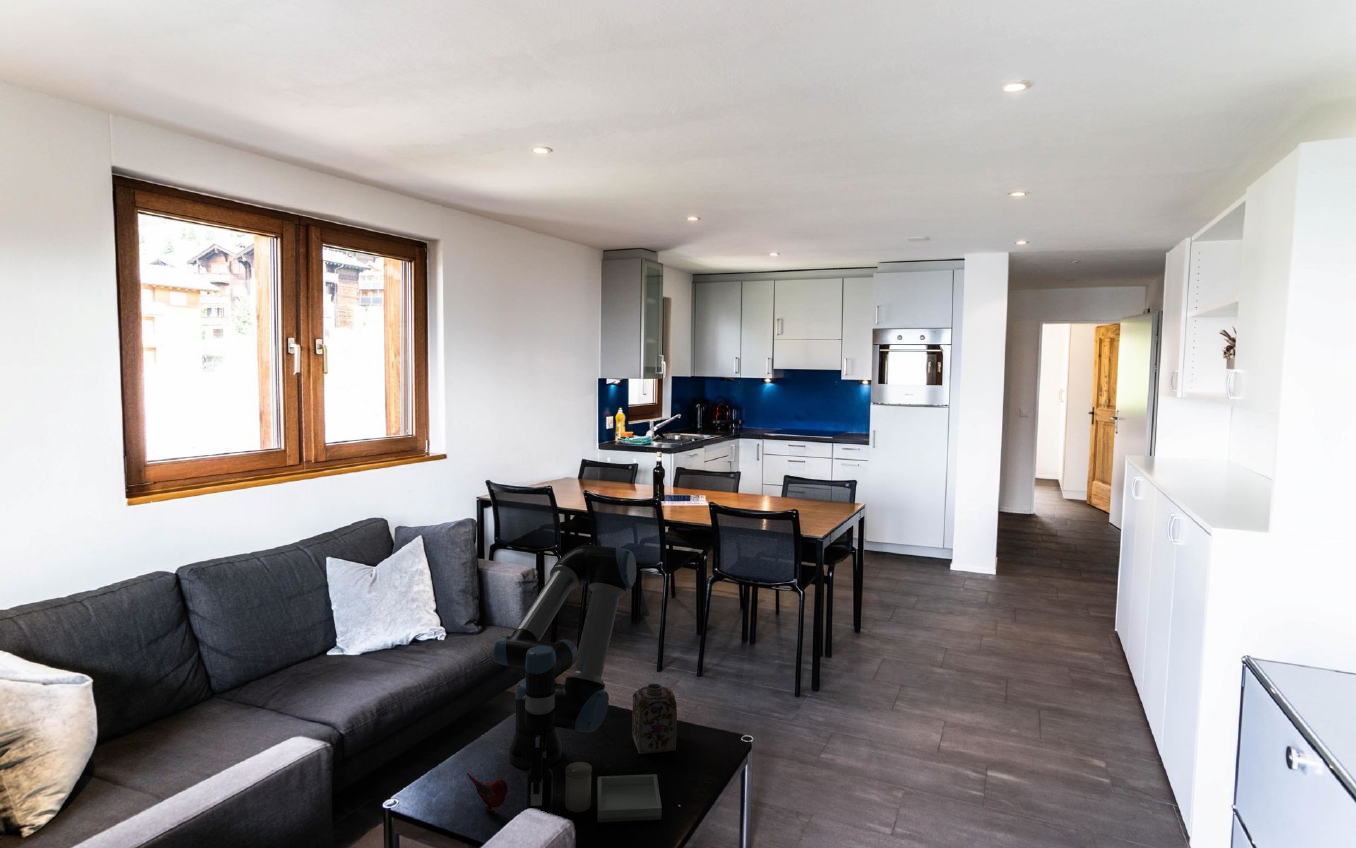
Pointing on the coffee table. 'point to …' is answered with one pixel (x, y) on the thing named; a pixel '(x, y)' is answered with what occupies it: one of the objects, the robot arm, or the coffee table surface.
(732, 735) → the coffee table surface
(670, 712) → the decorative jar
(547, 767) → the supplement bottle
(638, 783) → the sage tray
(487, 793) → the decorative bird figurine
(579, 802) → the cream canister
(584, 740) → the coffee table surface
